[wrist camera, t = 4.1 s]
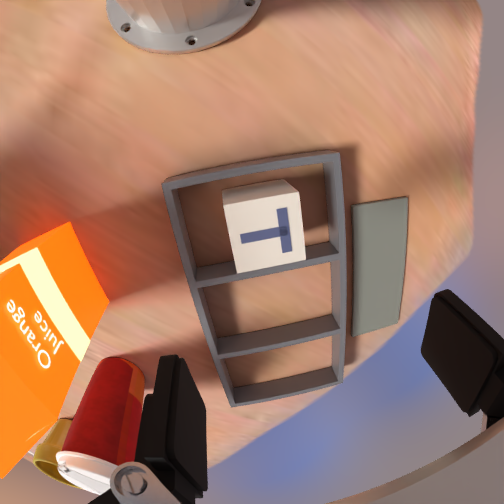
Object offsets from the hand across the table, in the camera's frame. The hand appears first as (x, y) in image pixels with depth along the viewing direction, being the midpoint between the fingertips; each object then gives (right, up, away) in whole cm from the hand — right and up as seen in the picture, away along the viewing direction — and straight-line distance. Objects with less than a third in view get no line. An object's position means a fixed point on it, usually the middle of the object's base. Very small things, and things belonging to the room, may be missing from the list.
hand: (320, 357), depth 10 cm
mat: (+10, +2, +18) cm, 21 cm away
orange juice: (-21, +2, +15) cm, 26 cm away
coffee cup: (-18, -11, +21) cm, 29 cm away
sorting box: (-1, 0, +18) cm, 18 cm away
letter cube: (-2, +7, +15) cm, 16 cm away
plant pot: (-31, -25, +26) cm, 48 cm away
